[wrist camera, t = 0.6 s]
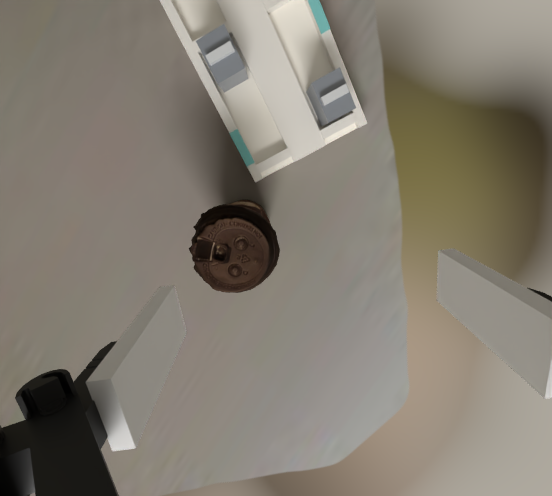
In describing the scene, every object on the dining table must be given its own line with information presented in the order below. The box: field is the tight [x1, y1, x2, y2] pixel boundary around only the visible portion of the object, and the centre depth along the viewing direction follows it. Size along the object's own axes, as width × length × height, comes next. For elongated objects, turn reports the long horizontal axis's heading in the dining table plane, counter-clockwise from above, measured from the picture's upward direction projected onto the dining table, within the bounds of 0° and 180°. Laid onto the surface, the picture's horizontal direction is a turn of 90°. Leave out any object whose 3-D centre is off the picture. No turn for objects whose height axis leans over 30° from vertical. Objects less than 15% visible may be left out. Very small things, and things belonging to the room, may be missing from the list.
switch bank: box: [160, 0, 367, 183], centre depth 34 cm, size 20×14×3 cm
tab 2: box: [306, 67, 356, 127], centre depth 32 cm, size 4×3×5 cm
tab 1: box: [196, 24, 248, 93], centre depth 31 cm, size 4×3×5 cm
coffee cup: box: [189, 200, 280, 293], centre depth 34 cm, size 9×8×13 cm
